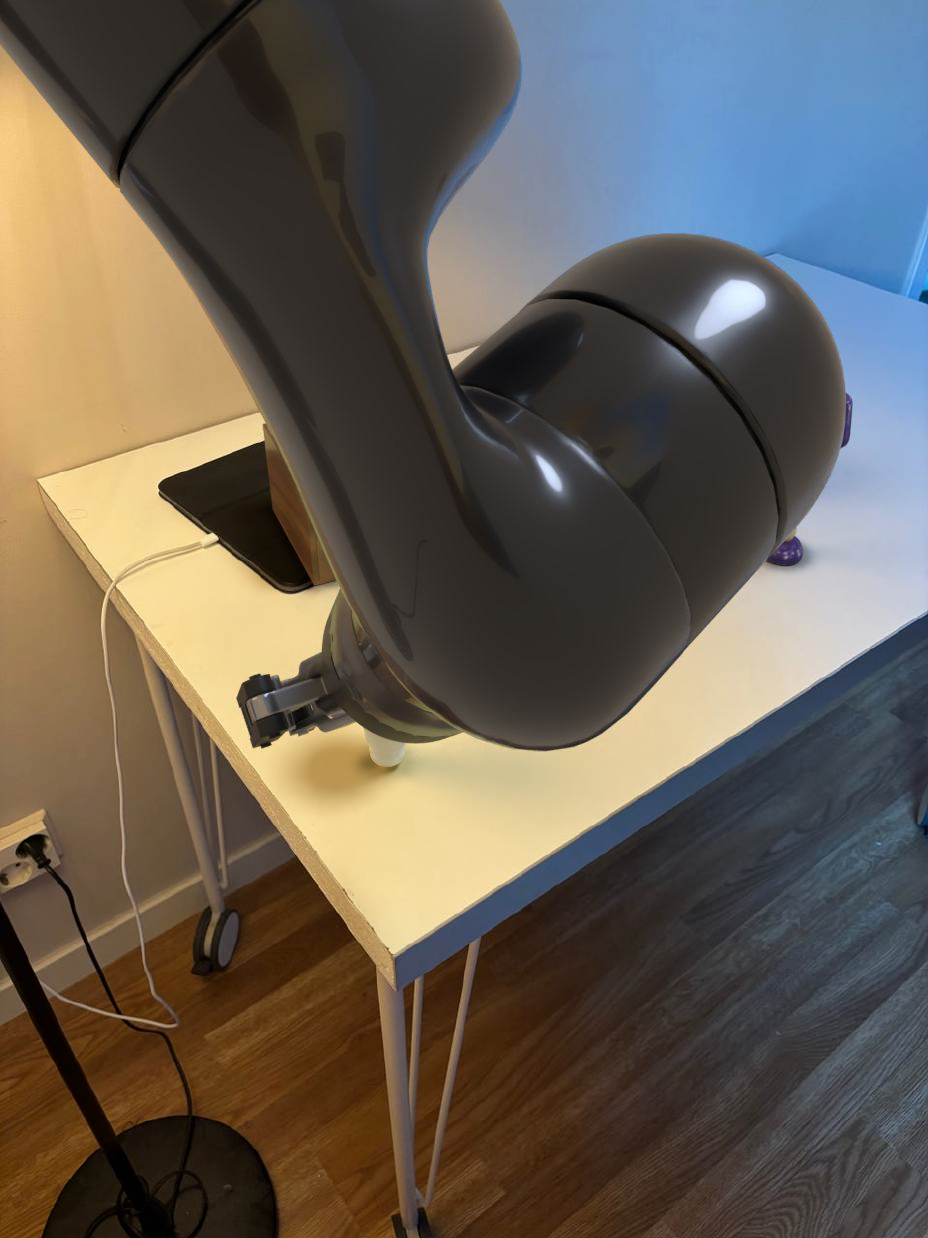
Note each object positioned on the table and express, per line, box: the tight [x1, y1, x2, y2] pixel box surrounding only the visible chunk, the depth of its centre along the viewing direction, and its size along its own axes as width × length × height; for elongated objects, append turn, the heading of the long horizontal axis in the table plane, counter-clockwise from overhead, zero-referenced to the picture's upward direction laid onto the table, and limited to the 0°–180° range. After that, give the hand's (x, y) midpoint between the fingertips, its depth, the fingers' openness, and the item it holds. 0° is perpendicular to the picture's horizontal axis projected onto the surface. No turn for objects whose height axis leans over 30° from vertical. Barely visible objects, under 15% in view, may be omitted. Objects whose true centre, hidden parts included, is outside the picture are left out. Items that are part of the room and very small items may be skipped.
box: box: [262, 422, 337, 586], centre depth 88 cm, size 13×13×10 cm
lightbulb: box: [362, 727, 407, 768], centre depth 66 cm, size 6×6×11 cm
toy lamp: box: [766, 392, 853, 566], centre depth 85 cm, size 5×5×17 cm
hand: (376, 686), depth 50 cm, fingers open, 8 cm apart
